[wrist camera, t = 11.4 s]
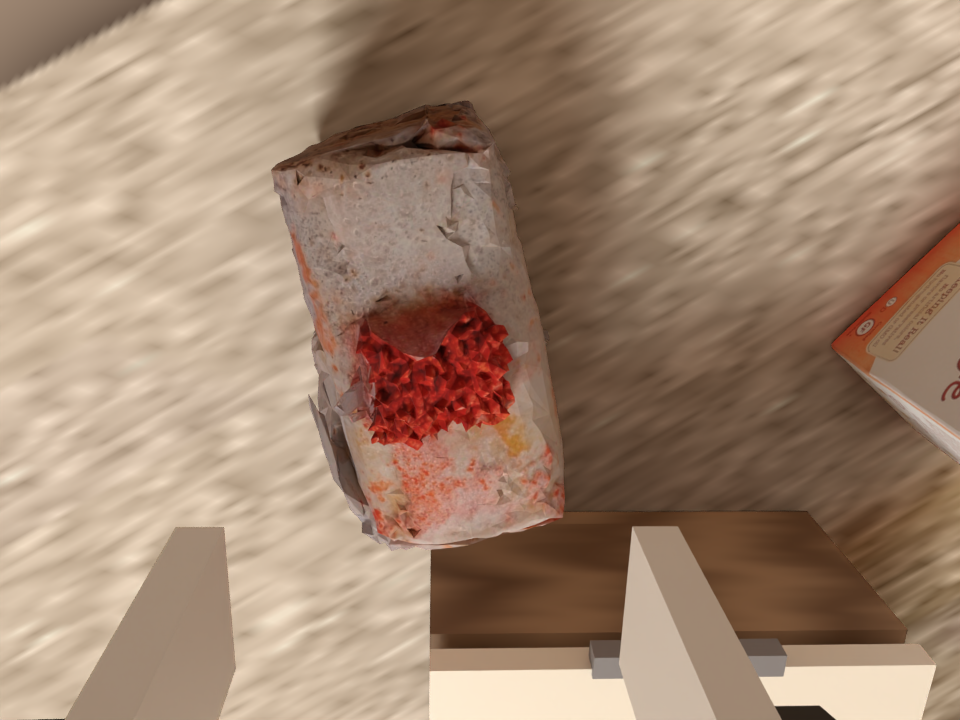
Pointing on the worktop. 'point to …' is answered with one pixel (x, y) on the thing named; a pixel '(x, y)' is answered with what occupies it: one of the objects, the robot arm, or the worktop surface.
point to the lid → (605, 701)
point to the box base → (604, 569)
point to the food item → (424, 331)
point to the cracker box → (916, 346)
